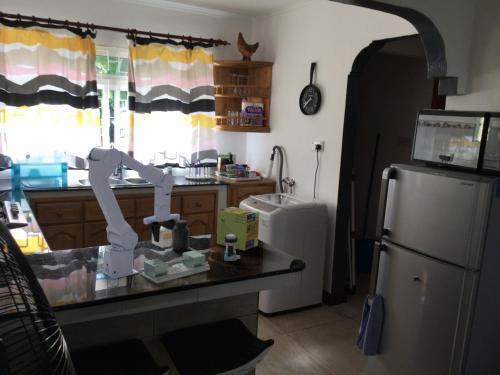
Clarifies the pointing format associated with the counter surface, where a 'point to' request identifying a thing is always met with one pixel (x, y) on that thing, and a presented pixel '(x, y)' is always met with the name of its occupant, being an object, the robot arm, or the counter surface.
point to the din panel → (174, 267)
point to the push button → (230, 247)
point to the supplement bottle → (180, 236)
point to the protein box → (238, 227)
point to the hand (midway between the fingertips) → (161, 240)
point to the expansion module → (163, 237)
